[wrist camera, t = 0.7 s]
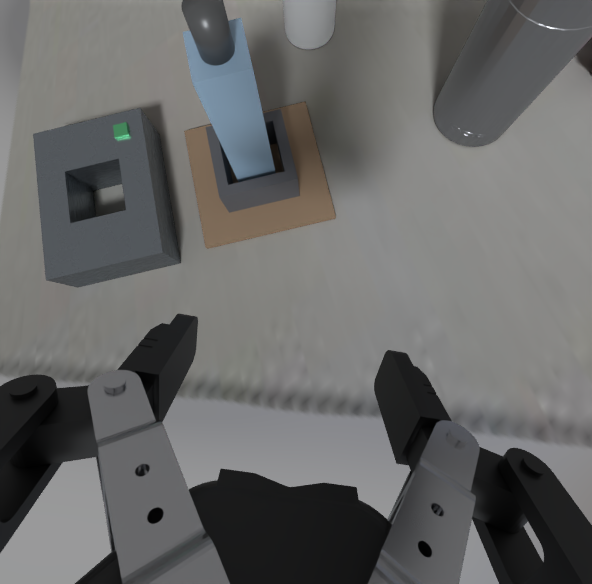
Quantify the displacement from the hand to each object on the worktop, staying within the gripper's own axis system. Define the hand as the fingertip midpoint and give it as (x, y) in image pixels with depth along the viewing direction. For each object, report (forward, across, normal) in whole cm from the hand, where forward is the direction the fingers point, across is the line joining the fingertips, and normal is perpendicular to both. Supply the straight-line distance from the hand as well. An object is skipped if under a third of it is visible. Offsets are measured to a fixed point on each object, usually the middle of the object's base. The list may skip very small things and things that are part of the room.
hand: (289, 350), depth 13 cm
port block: (+29, +22, +3) cm, 36 cm away
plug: (+30, +6, -4) cm, 31 cm away
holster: (+30, +6, -4) cm, 31 cm away
